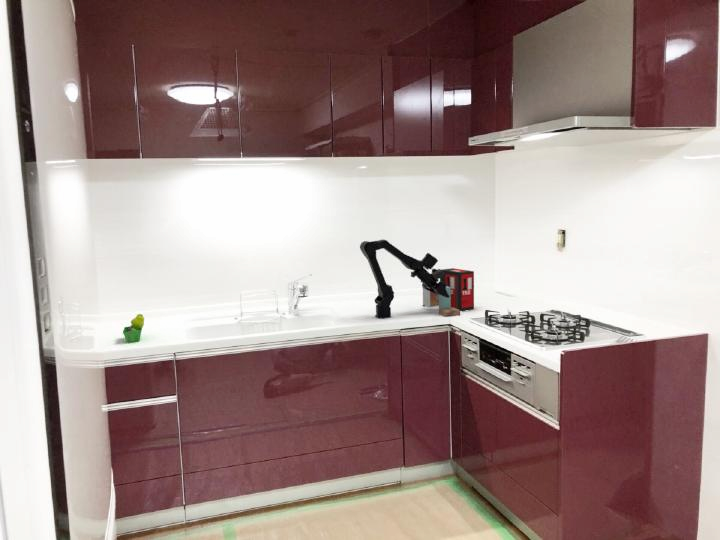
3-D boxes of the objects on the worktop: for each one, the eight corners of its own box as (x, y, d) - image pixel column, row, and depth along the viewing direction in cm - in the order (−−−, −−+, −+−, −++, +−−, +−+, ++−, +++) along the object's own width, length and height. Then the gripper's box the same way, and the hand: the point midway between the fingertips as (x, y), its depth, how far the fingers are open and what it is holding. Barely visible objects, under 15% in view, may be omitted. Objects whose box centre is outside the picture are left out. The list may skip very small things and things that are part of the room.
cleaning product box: (440, 306, 314) (439, 269, 312) (452, 304, 319) (452, 268, 316) (460, 311, 300) (460, 272, 298) (473, 309, 305) (473, 271, 302)
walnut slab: (445, 316, 289) (445, 311, 289) (438, 313, 296) (438, 308, 296) (460, 315, 291) (460, 310, 291) (452, 312, 299) (452, 307, 299)
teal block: (442, 312, 300) (442, 288, 299) (438, 310, 304) (438, 286, 303) (450, 311, 302) (450, 287, 300) (446, 309, 306) (446, 286, 304)
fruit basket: (125, 337, 264) (123, 313, 262) (146, 335, 267) (144, 311, 265) (123, 343, 253) (121, 318, 252) (145, 341, 256) (143, 316, 254)
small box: (430, 307, 313) (429, 287, 312) (422, 305, 318) (422, 286, 316) (440, 305, 318) (440, 286, 317) (432, 303, 323) (432, 285, 321)
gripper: (442, 266, 289) (463, 286, 294) (426, 262, 307) (446, 281, 312) (428, 283, 288) (449, 303, 293) (413, 278, 306) (433, 297, 310)
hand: (444, 295), depth 302 cm, fingers open, 9 cm apart
